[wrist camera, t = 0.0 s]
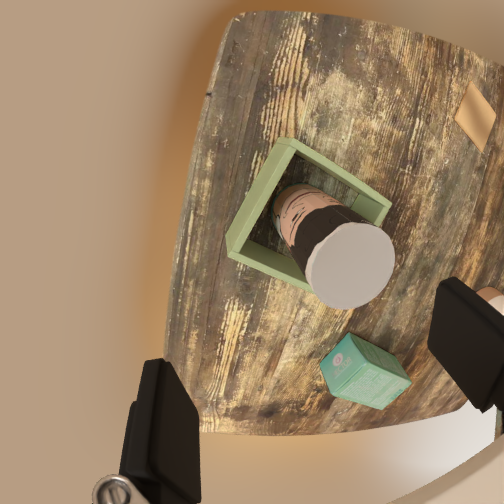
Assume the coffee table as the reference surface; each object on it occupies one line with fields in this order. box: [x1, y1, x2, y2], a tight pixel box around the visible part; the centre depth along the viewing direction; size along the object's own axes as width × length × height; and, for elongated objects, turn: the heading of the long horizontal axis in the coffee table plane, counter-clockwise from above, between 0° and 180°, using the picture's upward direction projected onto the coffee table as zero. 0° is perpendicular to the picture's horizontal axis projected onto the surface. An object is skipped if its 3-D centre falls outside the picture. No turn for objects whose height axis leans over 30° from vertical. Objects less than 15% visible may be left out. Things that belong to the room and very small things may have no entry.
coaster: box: [454, 81, 496, 152], centre depth 31 cm, size 8×8×1 cm
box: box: [320, 332, 412, 410], centre depth 41 cm, size 7×14×8 cm, turn 55°
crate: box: [225, 137, 392, 295], centre depth 31 cm, size 13×13×6 cm
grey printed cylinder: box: [271, 183, 395, 310], centre depth 27 cm, size 7×7×15 cm
